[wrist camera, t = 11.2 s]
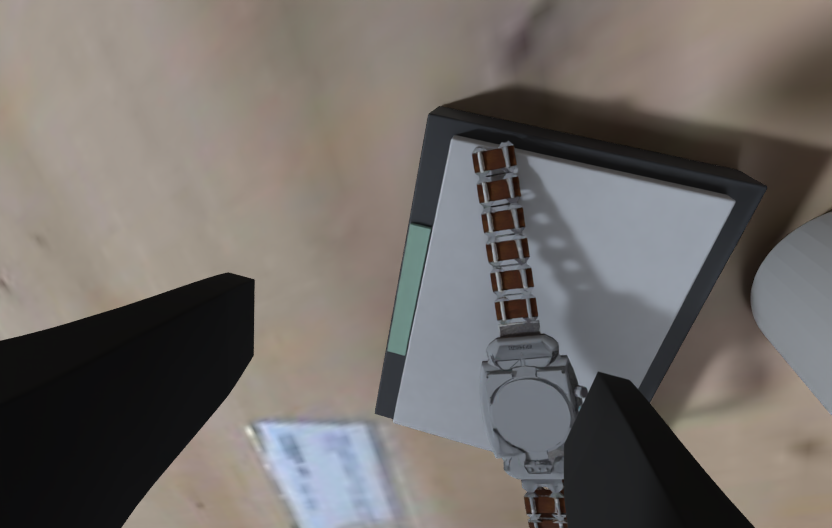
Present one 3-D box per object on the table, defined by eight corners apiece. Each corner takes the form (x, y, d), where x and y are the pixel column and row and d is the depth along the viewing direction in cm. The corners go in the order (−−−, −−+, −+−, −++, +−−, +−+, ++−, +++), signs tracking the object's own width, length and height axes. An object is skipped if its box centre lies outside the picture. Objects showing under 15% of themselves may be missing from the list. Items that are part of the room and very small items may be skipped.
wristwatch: (512, 484, 21) (503, 571, 16) (462, 163, 19) (437, 152, 14) (597, 485, 20) (615, 577, 15) (551, 146, 18) (555, 127, 13)
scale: (599, 444, 23) (610, 495, 20) (386, 384, 24) (369, 425, 21) (739, 169, 16) (780, 193, 14) (438, 105, 17) (424, 115, 15)
